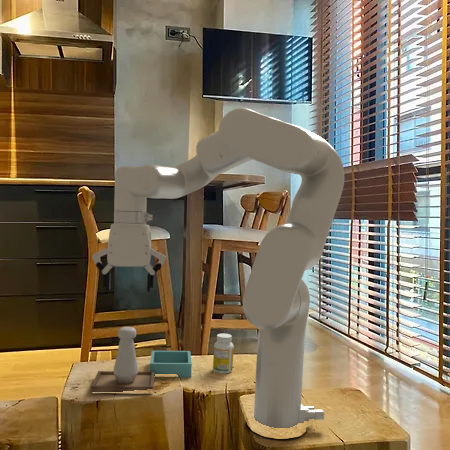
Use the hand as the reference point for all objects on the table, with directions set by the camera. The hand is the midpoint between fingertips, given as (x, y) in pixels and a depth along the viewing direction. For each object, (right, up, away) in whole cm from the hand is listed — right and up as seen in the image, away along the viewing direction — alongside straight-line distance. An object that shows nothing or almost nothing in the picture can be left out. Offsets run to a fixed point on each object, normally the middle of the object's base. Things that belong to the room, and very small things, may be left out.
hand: (128, 290), depth 116 cm
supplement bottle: (+22, -24, +15) cm, 36 cm away
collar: (+9, -23, +13) cm, 28 cm away
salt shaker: (-1, -22, +1) cm, 22 cm away
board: (-1, -23, +1) cm, 23 cm away
